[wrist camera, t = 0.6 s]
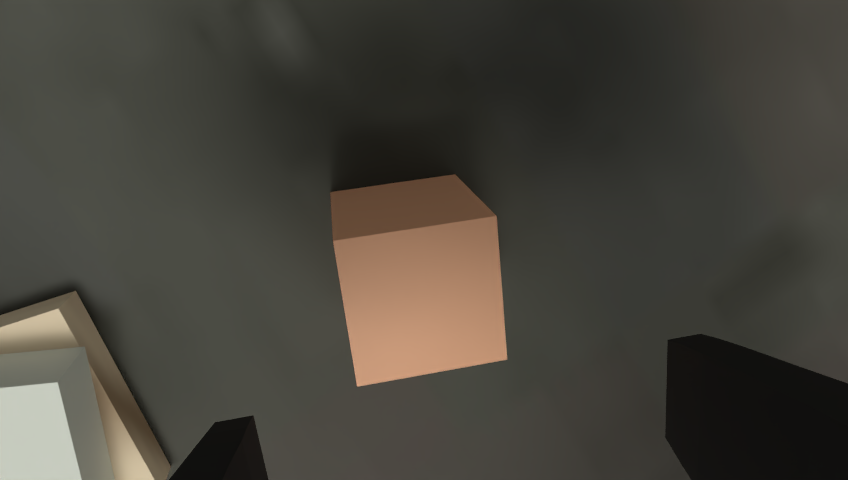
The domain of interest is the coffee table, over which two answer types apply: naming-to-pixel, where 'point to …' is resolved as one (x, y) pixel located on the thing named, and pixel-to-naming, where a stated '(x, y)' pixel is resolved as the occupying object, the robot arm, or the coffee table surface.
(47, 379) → the top slab
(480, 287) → the block
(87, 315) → the bottom slab
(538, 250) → the coffee table surface
